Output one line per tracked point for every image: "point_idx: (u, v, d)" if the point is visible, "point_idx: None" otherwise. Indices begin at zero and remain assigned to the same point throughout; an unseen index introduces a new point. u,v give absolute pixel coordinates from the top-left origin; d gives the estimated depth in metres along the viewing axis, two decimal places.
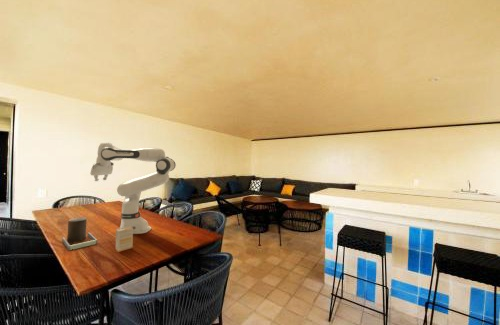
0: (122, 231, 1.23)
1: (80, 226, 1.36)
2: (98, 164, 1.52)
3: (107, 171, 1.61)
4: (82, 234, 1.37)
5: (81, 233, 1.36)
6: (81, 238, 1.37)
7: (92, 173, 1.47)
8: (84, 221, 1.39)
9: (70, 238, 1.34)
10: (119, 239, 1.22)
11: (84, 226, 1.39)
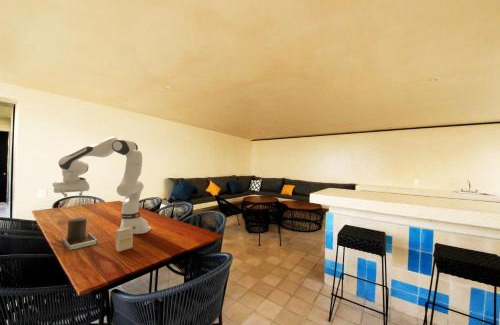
0: (122, 231, 1.23)
1: (80, 226, 1.36)
2: None
3: (79, 186, 1.54)
4: (82, 234, 1.37)
5: (81, 233, 1.36)
6: (81, 238, 1.37)
7: None
8: (84, 221, 1.39)
9: (70, 238, 1.34)
10: (119, 239, 1.22)
11: (84, 226, 1.39)
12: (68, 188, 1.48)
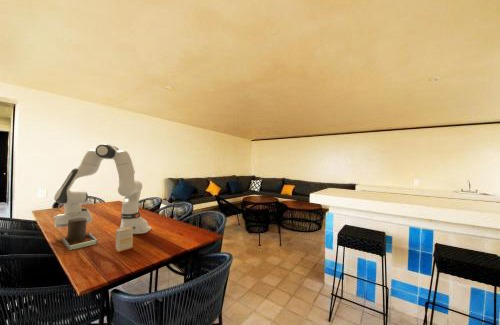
0: (122, 231, 1.23)
1: (80, 226, 1.36)
2: (62, 215, 1.43)
3: None
4: (82, 234, 1.37)
5: (81, 233, 1.36)
6: (81, 238, 1.37)
7: (55, 225, 1.37)
8: (84, 221, 1.39)
9: (70, 238, 1.34)
10: (119, 239, 1.22)
11: (84, 226, 1.39)
12: None
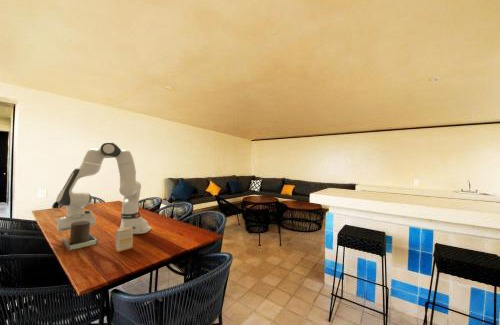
0: (122, 231, 1.23)
1: (82, 230, 1.29)
2: None
3: None
4: (85, 239, 1.30)
5: (83, 237, 1.29)
6: None
7: (57, 228, 1.30)
8: (87, 225, 1.31)
9: (72, 243, 1.27)
10: (119, 239, 1.22)
11: (87, 230, 1.31)
12: None
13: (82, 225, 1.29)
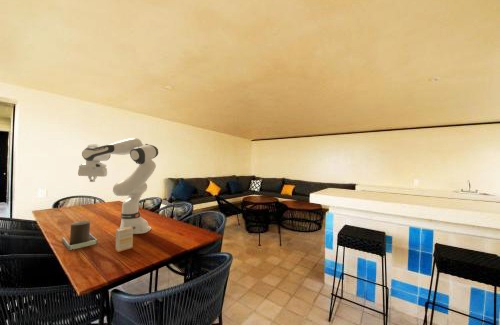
0: (122, 231, 1.23)
1: (82, 230, 1.29)
2: (85, 165, 1.60)
3: (96, 173, 1.59)
4: (85, 238, 1.30)
5: (83, 237, 1.29)
6: None
7: None
8: (87, 225, 1.31)
9: (72, 243, 1.27)
10: (119, 239, 1.22)
11: (87, 230, 1.31)
12: (87, 174, 1.59)
13: (82, 225, 1.29)
